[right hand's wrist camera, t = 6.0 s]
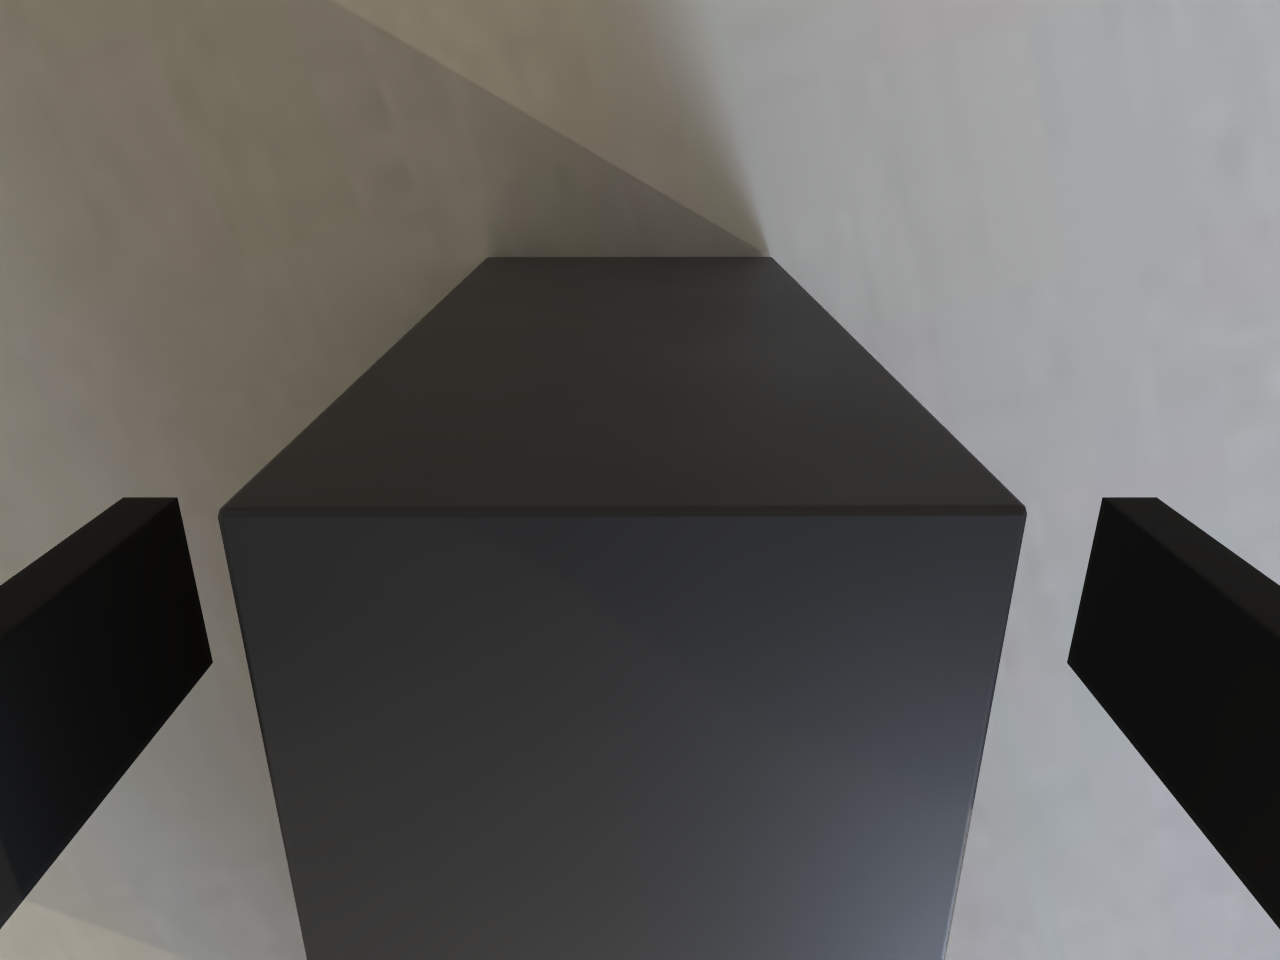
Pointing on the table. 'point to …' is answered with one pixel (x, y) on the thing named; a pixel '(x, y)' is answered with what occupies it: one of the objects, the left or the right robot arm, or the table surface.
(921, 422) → the box
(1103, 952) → the table surface
